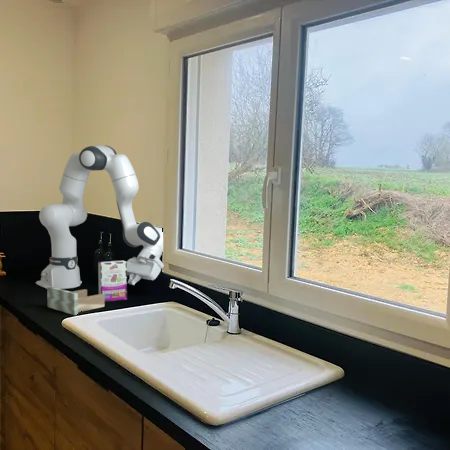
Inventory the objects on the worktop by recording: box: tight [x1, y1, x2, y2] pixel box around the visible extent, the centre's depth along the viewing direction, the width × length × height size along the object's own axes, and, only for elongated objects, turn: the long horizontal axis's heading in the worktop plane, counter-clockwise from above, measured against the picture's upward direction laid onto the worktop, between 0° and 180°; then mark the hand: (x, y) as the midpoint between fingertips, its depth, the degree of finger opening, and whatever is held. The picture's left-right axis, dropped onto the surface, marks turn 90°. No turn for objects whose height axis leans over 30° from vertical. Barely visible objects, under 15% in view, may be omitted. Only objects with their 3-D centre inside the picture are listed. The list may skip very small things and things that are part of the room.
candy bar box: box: [97, 260, 128, 303], centre depth 215 cm, size 11×5×16 cm, turn 117°
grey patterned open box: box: [46, 286, 106, 316], centre depth 202 cm, size 18×16×8 cm
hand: (130, 283), depth 223 cm, fingers closed
